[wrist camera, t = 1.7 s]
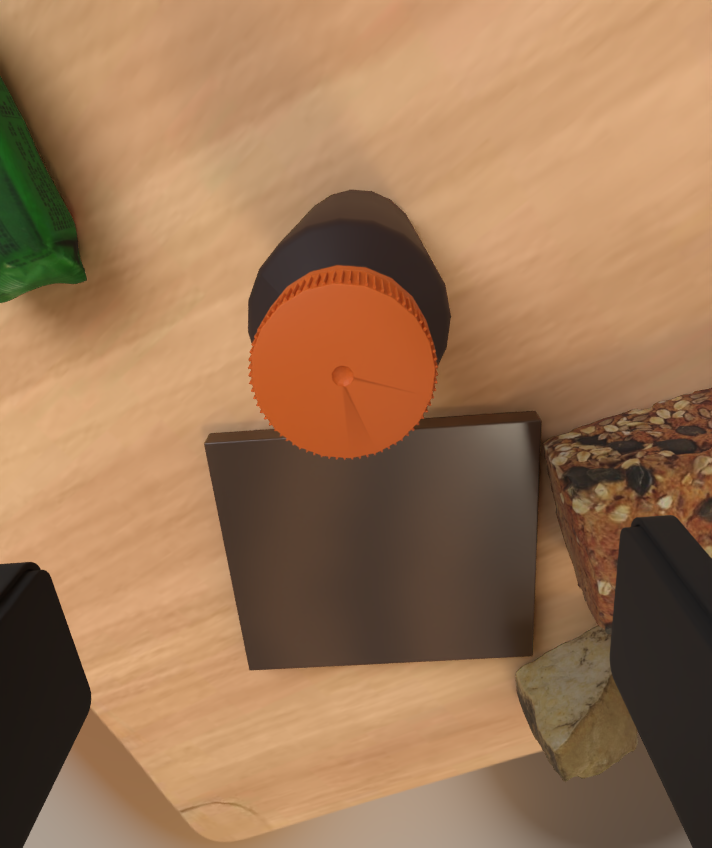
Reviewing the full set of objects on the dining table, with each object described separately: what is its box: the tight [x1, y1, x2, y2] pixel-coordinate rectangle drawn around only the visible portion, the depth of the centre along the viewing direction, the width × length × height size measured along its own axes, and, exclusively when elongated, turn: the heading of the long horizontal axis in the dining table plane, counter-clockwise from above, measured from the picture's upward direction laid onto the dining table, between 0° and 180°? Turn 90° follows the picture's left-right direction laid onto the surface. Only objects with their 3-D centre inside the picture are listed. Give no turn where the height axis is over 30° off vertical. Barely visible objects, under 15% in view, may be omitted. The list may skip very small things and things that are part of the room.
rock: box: [516, 626, 638, 781], centre depth 43 cm, size 11×9×10 cm
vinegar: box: [248, 190, 451, 460], centre depth 25 cm, size 7×7×20 cm
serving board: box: [204, 411, 541, 670], centre depth 41 cm, size 20×18×2 cm
